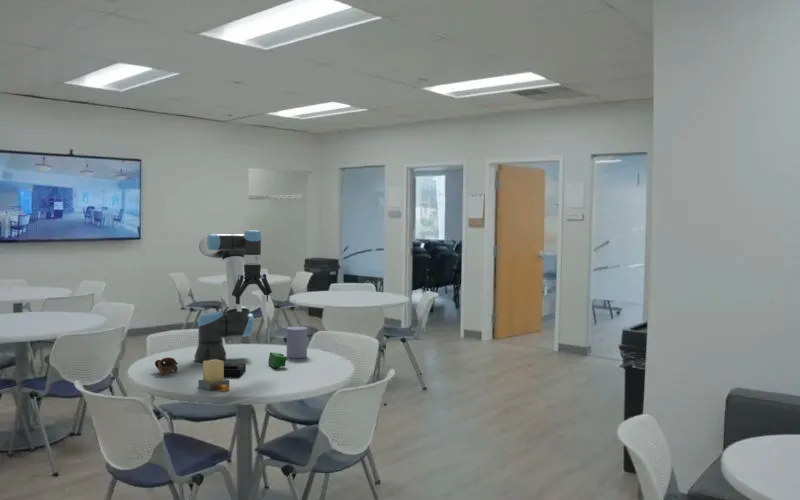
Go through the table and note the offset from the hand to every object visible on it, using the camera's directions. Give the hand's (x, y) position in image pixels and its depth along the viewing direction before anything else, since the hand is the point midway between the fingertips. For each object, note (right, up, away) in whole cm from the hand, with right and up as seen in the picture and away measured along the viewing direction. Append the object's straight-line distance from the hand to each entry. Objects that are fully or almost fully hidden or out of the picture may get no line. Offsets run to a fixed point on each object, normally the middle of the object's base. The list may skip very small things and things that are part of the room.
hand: (252, 310), depth 293 cm
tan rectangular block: (-10, -27, -27) cm, 39 cm away
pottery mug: (-38, -29, -4) cm, 48 cm away
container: (+15, -28, +36) cm, 48 cm away
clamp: (+8, -30, +15) cm, 34 cm away
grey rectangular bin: (-8, -30, -28) cm, 42 cm away
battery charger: (-8, -29, -4) cm, 31 cm away
